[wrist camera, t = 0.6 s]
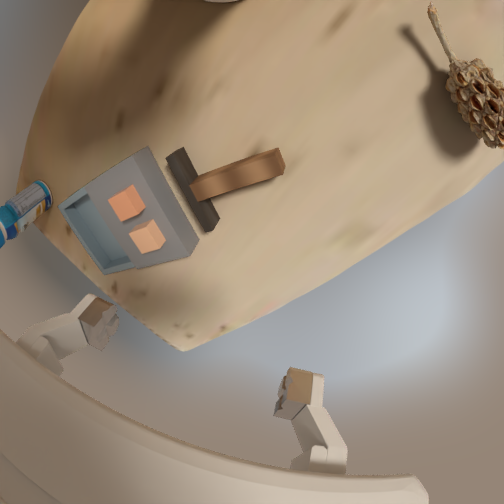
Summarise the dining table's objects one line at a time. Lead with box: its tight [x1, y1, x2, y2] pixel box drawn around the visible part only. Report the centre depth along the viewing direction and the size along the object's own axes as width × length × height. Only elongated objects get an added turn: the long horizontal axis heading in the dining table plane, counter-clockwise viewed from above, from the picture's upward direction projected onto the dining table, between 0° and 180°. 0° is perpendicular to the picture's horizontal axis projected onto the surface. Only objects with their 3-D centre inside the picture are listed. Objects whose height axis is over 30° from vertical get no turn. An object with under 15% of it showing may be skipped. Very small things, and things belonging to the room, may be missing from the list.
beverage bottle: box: [0, 180, 52, 248], centre depth 45 cm, size 8×8×20 cm
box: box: [58, 182, 135, 275], centre depth 53 cm, size 20×13×4 cm, turn 23°
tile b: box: [129, 219, 166, 254], centre depth 46 cm, size 4×4×2 cm
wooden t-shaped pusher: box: [166, 147, 285, 232], centre depth 41 cm, size 16×14×4 cm
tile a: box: [108, 184, 146, 222], centre depth 42 cm, size 4×4×2 cm
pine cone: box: [427, 0, 504, 149], centre depth 21 cm, size 22×10×10 cm, turn 46°
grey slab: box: [84, 146, 199, 269], centre depth 48 cm, size 20×14×5 cm
